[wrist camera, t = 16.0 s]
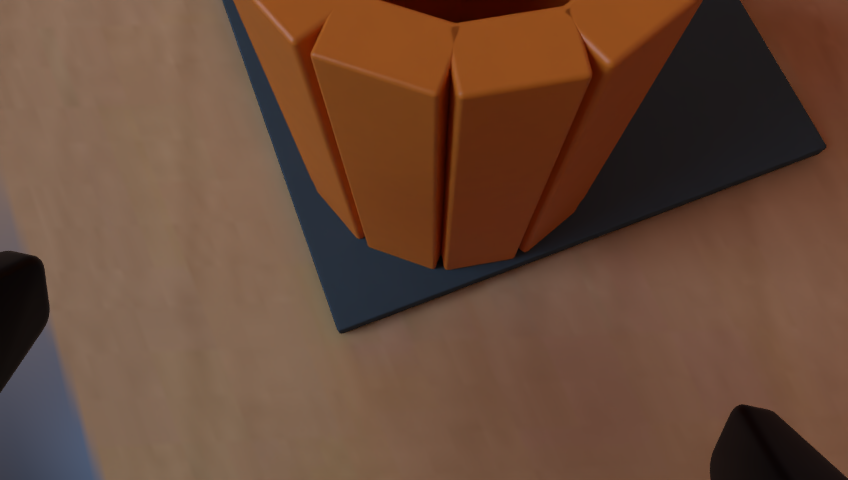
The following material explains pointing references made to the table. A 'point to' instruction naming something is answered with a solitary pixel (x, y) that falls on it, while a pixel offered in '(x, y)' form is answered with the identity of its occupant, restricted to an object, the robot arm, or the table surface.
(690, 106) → the mat
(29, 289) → the robot arm
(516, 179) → the orange slatted cup
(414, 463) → the table surface
